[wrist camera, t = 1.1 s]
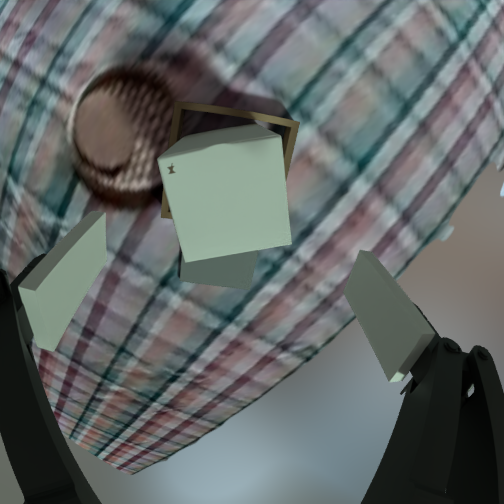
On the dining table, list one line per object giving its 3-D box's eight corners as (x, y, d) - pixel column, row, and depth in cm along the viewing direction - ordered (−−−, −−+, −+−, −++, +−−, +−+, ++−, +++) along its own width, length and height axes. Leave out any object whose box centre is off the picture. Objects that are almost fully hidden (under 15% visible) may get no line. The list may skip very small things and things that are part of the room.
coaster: (180, 278, 41) (179, 281, 40) (186, 213, 36) (186, 214, 36) (249, 287, 43) (249, 289, 42) (263, 224, 38) (264, 226, 38)
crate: (165, 208, 36) (160, 217, 33) (179, 101, 30) (175, 101, 27) (269, 223, 38) (273, 233, 35) (293, 120, 32) (299, 122, 29)
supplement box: (197, 204, 36) (181, 266, 23) (182, 135, 32) (152, 156, 19) (268, 192, 36) (294, 248, 23) (259, 122, 32) (282, 132, 19)
